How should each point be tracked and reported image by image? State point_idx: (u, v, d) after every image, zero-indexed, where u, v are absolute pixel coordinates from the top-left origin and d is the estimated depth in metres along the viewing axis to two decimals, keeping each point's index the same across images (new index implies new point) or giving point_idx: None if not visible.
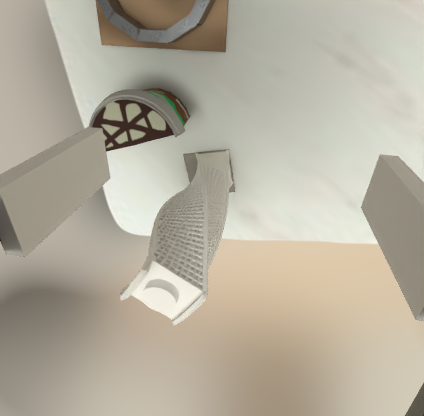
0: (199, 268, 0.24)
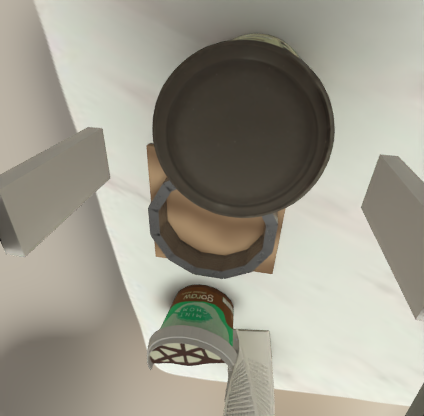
0: None
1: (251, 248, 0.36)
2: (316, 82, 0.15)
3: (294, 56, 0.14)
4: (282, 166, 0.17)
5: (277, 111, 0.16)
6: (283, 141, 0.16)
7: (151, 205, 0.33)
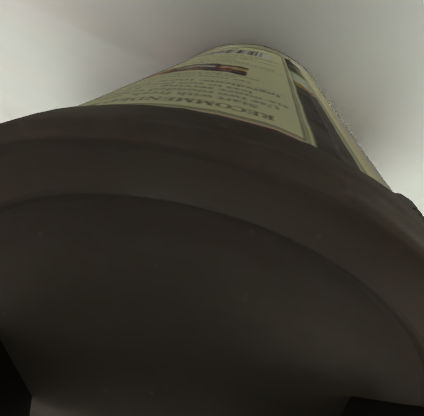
0: None
1: None
2: None
3: (379, 201, 0.03)
4: None
5: (284, 356, 0.04)
6: None
7: None
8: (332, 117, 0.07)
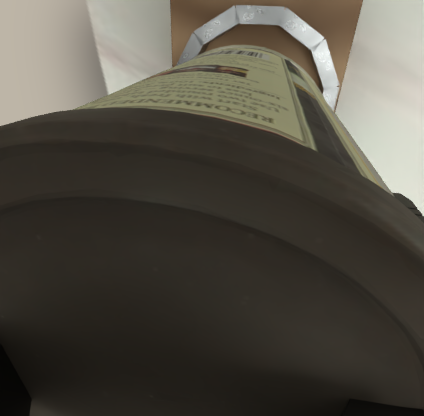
0: None
1: None
2: None
3: (379, 206, 0.03)
4: None
5: (283, 359, 0.04)
6: None
7: None
8: (332, 119, 0.07)
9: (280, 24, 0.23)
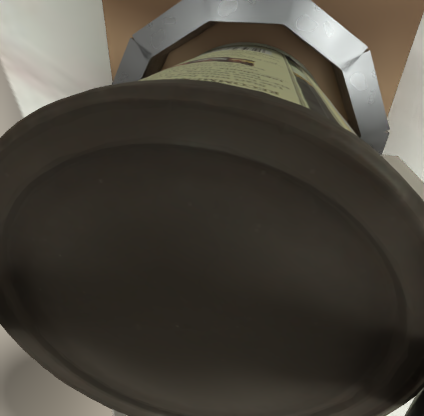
0: None
1: None
2: None
3: (353, 143, 0.04)
4: (297, 379, 0.07)
5: (286, 280, 0.05)
6: (302, 340, 0.06)
7: None
8: (326, 101, 0.08)
9: (286, 22, 0.12)
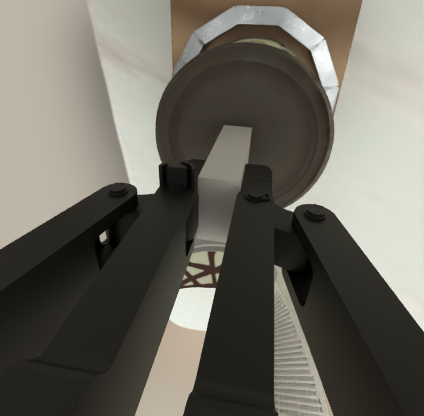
0: None
1: None
2: (316, 83, 0.15)
3: (294, 58, 0.15)
4: (283, 165, 0.18)
5: (277, 112, 0.16)
6: (283, 141, 0.17)
7: (176, 70, 0.26)
8: None
9: (280, 24, 0.23)
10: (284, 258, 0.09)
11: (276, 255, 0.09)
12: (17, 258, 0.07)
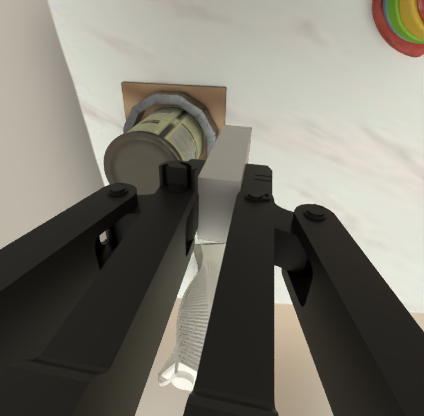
0: None
1: None
2: (170, 148, 0.34)
3: (159, 138, 0.33)
4: None
5: (157, 160, 0.35)
6: None
7: (125, 126, 0.45)
8: (173, 130, 0.37)
9: (178, 104, 0.42)
10: (284, 258, 0.09)
11: (275, 255, 0.09)
12: (17, 258, 0.07)
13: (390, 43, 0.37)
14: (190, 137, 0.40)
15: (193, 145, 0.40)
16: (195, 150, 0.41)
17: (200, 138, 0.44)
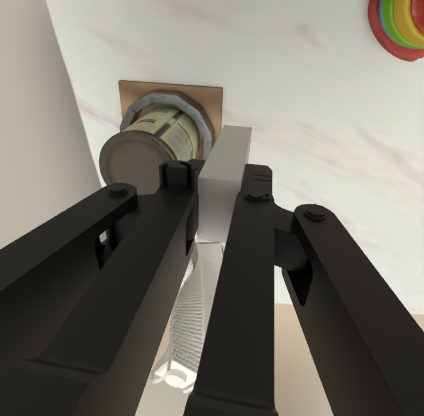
0: (199, 359, 0.40)
1: None
2: (165, 148, 0.34)
3: (154, 138, 0.34)
4: None
5: (152, 159, 0.35)
6: (158, 172, 0.36)
7: (121, 124, 0.45)
8: (169, 130, 0.38)
9: (174, 103, 0.42)
10: (285, 258, 0.09)
11: (276, 255, 0.09)
12: (17, 258, 0.07)
13: (385, 47, 0.37)
14: (185, 137, 0.40)
15: (188, 145, 0.40)
16: (191, 150, 0.41)
17: (196, 138, 0.44)
